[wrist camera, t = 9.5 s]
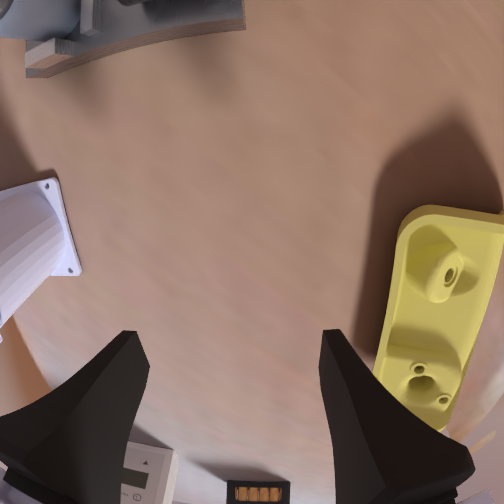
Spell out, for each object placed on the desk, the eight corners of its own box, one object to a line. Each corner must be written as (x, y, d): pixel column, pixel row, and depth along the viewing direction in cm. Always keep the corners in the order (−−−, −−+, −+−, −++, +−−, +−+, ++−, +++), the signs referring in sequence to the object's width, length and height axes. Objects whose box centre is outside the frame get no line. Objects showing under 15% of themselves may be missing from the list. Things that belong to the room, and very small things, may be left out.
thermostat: (174, 449, 35) (156, 539, 21) (188, 479, 41) (177, 549, 28) (99, 432, 35) (71, 512, 22) (125, 467, 41) (108, 531, 28)
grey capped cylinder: (41, 52, 12) (-28, 49, 6) (37, 11, 10) (-26, -1, 5) (85, 25, 11) (18, 6, 6) (80, -17, 10) (20, -44, 4)
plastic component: (399, 209, 16) (539, 232, 12) (401, 188, 22) (507, 204, 18) (357, 421, 24) (452, 436, 19) (373, 371, 30) (454, 383, 25)
